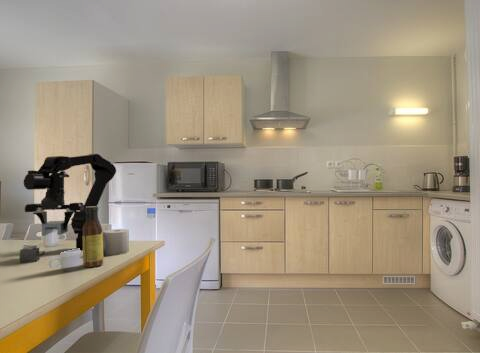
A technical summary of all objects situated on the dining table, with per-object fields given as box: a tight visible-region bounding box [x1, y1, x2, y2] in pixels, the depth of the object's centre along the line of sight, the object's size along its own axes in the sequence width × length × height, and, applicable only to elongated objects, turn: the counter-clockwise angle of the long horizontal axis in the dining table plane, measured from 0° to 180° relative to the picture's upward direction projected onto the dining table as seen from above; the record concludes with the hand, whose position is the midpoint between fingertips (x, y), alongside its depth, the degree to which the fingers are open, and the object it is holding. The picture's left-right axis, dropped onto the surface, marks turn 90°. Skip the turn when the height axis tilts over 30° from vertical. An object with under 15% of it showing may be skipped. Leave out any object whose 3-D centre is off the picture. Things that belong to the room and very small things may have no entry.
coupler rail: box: [19, 245, 46, 264], centre depth 115 cm, size 5×14×5 cm, turn 15°
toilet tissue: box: [102, 228, 130, 256], centre depth 121 cm, size 9×13×9 cm
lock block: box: [41, 220, 69, 237], centre depth 118 cm, size 6×9×4 cm
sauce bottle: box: [82, 205, 104, 268], centre depth 104 cm, size 6×6×20 cm
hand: (55, 229), depth 118 cm, fingers closed on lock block, 6 cm apart
